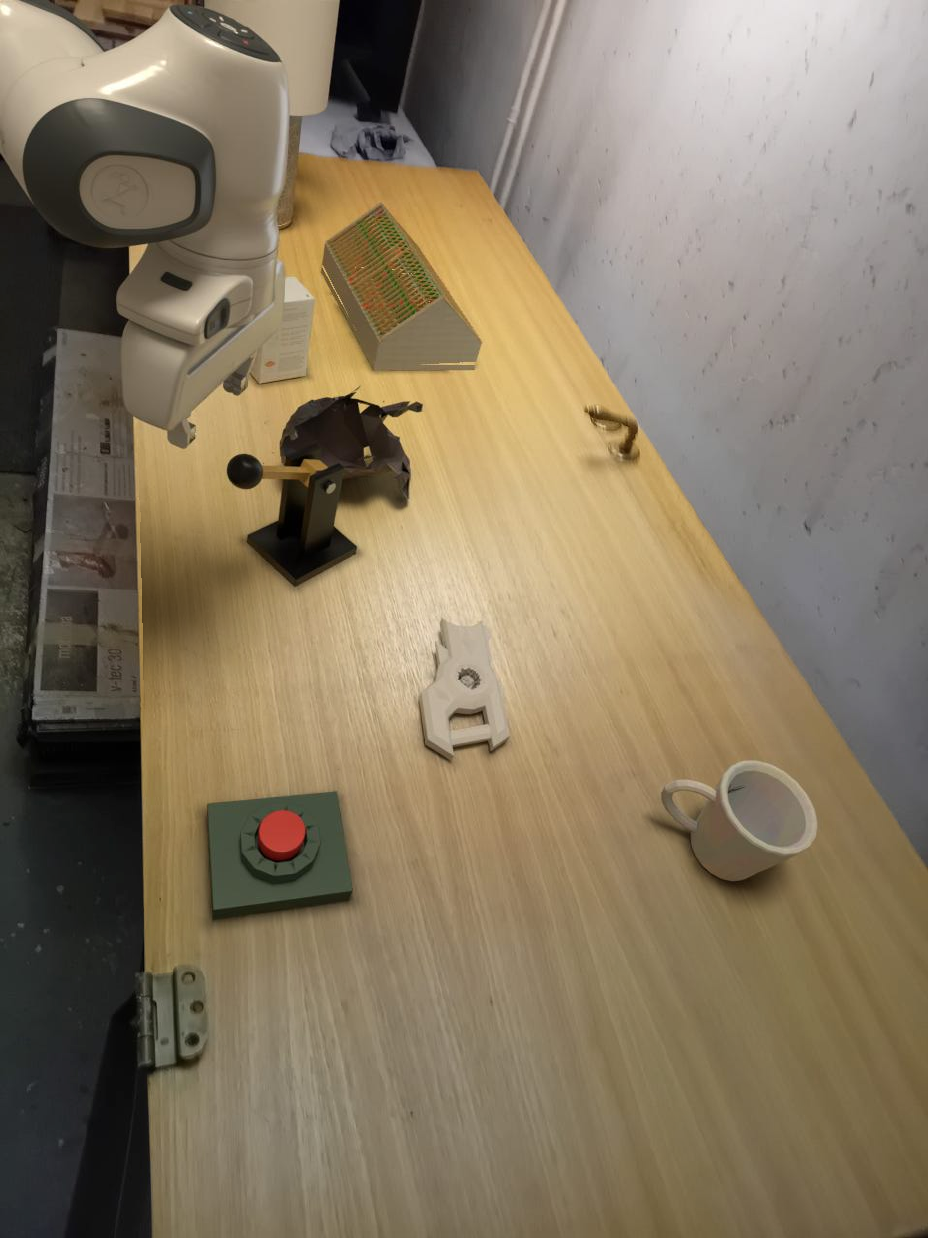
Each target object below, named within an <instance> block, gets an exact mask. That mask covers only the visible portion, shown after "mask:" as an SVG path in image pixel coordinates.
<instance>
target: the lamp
mask: <svg viewBox="0 0 928 1238" xmlns="http://www.w3.org/2000/svg"><path fill="white" fill-rule="evenodd" d="M340 1H341V0H204V1H203V2H204V4H203V5H204V6H203V7H204V8H207V9H210V10H213V11H216V12H218V13H221V14H223V15H225V16H228V17H230V18H232V19H234V20H236V22H238V23H240V24H242V25H244V26H245V27H248V28H250V29H251V30H252V31H254V32H255V33H256V34H257V35H259V36H260V37H261V38H262V39H263V40H264V41H266V42H267V43H268V44H269V45H270V46H271V47H272V49H273V50H274V51H275V52H276V53H277V54H278V56H279V57H280V59H281V61H282V62H283V64H284V66H285V69H286V73H287V79H288V89H289V106H290V121H289V144H288V158H287V169H286V179H285V185H284V188H283V191H282V194H281V196H280V198H279V201H278V205H277V223H278V225H282V224H285V223H287V222H289V221H290V220H291V218H292V220H291V221H290V222H289V223H287V224H285V225H282V226H278V228H279V231H280V230H283V229H286V228H287V227H288V226H289V225H290V224H291V223H292V221H293V215H294V203H295V195H296V194H295V193H296V186H297V185H296V184H297V175H298V174H297V173H298V163H299V154H300V153H299V152H300V142H301V132H302V124H303V123H302V122H303V116H304V117H306V116H314V115H317V114H320V113H322V112H324V111H325V110H326V109H327V108H328V103H329V94H330V84H331V78H332V69H333V61H334V53H335V43H336V35H337V27H338V18H339V9H340Z"/></svg>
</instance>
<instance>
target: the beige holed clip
mask: <svg viewBox="0 0 928 1238" xmlns="http://www.w3.org/2000/svg"><path fill="white" fill-rule="evenodd" d="M439 628H440V634H441V641H442V644H441V643H439V642H438V641H437V640H435V641H434V647H435V655H436V665H437V668H436V671H435V676H434V681H433V682H432V683H430V684H429V685H428V686H426V688H424V689H423V690H422V691H421V692H420V694H419V696H418V699H419V706H420V714H421V722H422V728H423V729H422V730H423V737H424V743H425V745H426V746H428V747H429V748H431V749H432V750H434V751H435V752H437V753H439V754H440V755H442V756H443V757H445V758H446V759H448V760H450V761H452V760H453V758H454V757H455V753H454V752H455V751H454V747H455V748H457V747H461V746H466V745H471V744H477V743H482V742H487V741H488V746H489V751H490V753H491V752H492V751H494V750H495V749H497V748H499V746H501V745H502V744H504V743H506V742H507V741H508V739H509V738H510V736H511V733H510V729H509V725H508V724H509V723H508V719H507V715H506V709H505V704H504V698H505V688H506V686H505V685H503V686H501V685H500V680H499V679H498V677H497V675H496V672H495V671H494V668H493V666H492V660H493V655H492V652H491V651H492V650H491V646H490V642H489V641H490V639H491V637H492V634H491V630H490V627H488V626H486V625H484V622H483V619H481V620H479V622H477V623H476V624H474V625H458V624H455V623H453V622H450V621H448V620H446V619H444V618H443V617H441V618H440V621H439ZM479 712H482V713H483V719H484V724H480V725H475V726H470V727H465V728H460V729H454V730H451V728H450V721H449V719H450V718H452V716H454V715H455V714H463V715H473V714H475V713H479Z"/></svg>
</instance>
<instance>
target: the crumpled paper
mask: <svg viewBox="0 0 928 1238" xmlns="http://www.w3.org/2000/svg"><path fill="white" fill-rule="evenodd" d="M361 386H362V385H361V384H360V385H359V386H358V387H356V388H355V389H354V390H353V391H352V392H349V393H348V394H347V395H338V396H334V397H330V396H325V397H322V396H321V398H317V399H310V400H309V401H307V402H305V403H303V404H302V405H300V406H298V407H297V409H296V410H295V411H294V413H292V415H290V418H289V419H288V420H287V422H286V423H285V426H284V428H283V430H282V433H281V438H280V441H279V456H278V459H280V462H281V464H282V465H283V466H285V459H286V455H288V454H290V453H293V452H295V451H297V450H300V449H302V448H305V447H307V446H310V445H312V444H314V443H316V444H317V445H319V446H320V447H321V452H320V458H319V460H320V461H321V462H322V463H324V464H325V465H326V466H327V467H331V466H333V465H335V464H337V463H340V464H341V465H342V466H343V467H344V468H345V469H344V474H343V479H342V480H346V479H354V478H362V477H368V476H372V479H375V477H374V476H373V475H379V474H384V473H388V472H393V471H394V473H396V474H397V475H396V476H395V477H394V481H395V482H396V485H397V487H395V488H398V489H399V490H400V492H401V494H402V495H403V496H404V498H406V499H407V500H410V486H411V485H410V483H411V480H412V470H411V460H410V458H409V457H408V455H407V454H406V452H405V450H404V447H403V444H402V442H401V437H400V436H397V435H394V433H393V432H392V431H391V430H390V429H389V428H388V427H387V426H386V425H385V423H384V421H385V420H386V419H387V417H388V416H389V417H391V418H399V417H401V416H402V415H404V414H405V413H407V412H408V411H411V412H413V413H422V412H424V410H423V407H424V404H423V403H421V402H419V401H415V402H413V403H411V400H409V401H400V402H396V403H392V404H388V405H384V406H380V405H378V404H375V403H372V402H368V401H365V400H362V399H360V398H353V397H354V395H355V394H356V393H357V392H358V391H359V389H360V387H361ZM382 403H385V400H383V401H382ZM361 404H362V405H366V406H367V407H365V409H364V410H362V411H360V406H359V405H361ZM267 422H269V420H267V421H264V425H266V424H267ZM366 448H369V451H370V454H371V455H369V454H366V455H365V449H366ZM271 454H274V452H273V451H272V452H271ZM370 458H371V459H372V461H371V462H370V463H369V464H368V465H367V464H366V460H367V459H370ZM262 464H263V465H264V464H265V462H262Z"/></svg>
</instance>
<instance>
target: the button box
mask: <svg viewBox="0 0 928 1238" xmlns="http://www.w3.org/2000/svg"><path fill="white" fill-rule="evenodd" d="M280 810H286V811H290V812H293V813H295V814H296V815H298V816H299V817H300V818H301V820H302V821H303V823H304V825H305V837H304V841H303V845H302V848H301V849H300V851H299V852H298V853H297V854H296V855H295V856H294V857H292V858H290V859H287V860H281V861H279V860H273V859H270V858H268V857H267V856H265V855H264V854H263V853H262V851H261V850H260V848H259V845H258V833H259V827H260V824H261V822H262V821H263V819H264V818H265V817H266V816H267V815H269V814H270V813H272V812H275V811H280ZM341 813H342V812H341V807H340V801H339V795H338V791H336V790H335V791H326V792H315V793H305V794H304V793H303V794H293V795H284V796H273V797H262V798H253V799H251V798H250V799H243V800H242V799H241V800H231V801H220V802H209V803H207V804H206V828H207V829H206V830H207V848H208V862H209V863H208V865H209V866H208V867H209V883H210V884H209V885H210V901H211V919H212V920H220V919H226V918H233V917H241V916H248V915H254V914H255V915H256V914H261V913H262V914H263V913H269V912H276V911H282V910H289V909H290V910H291V909H297V908H304V907H311V906H318V905H325V904H332V903H339V902H340V903H341V902H346V901H350V899H351V897H352V894H353V891H354V888H353V883H352V882H353V881H352V876H351V869H350V863H349V858H348V857H349V856H348V851H347V844H346V840H345V839H346V838H345V833H344V827H343V820H342V814H341Z"/></svg>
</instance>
